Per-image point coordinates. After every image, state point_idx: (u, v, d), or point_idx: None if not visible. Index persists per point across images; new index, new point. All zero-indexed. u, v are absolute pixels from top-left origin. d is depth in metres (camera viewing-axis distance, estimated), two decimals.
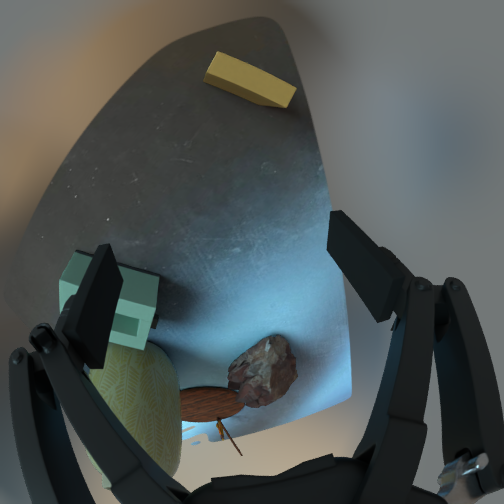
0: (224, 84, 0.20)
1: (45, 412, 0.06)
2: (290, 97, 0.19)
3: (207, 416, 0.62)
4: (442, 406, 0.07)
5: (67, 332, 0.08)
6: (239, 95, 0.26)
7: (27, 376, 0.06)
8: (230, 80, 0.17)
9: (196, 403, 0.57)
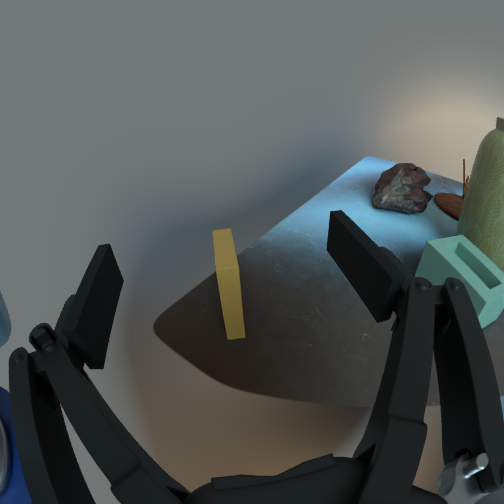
0: None
1: (45, 412, 0.06)
2: (221, 229, 0.29)
3: None
4: (442, 406, 0.07)
5: (67, 332, 0.08)
6: None
7: (27, 376, 0.06)
8: (234, 254, 0.25)
9: None
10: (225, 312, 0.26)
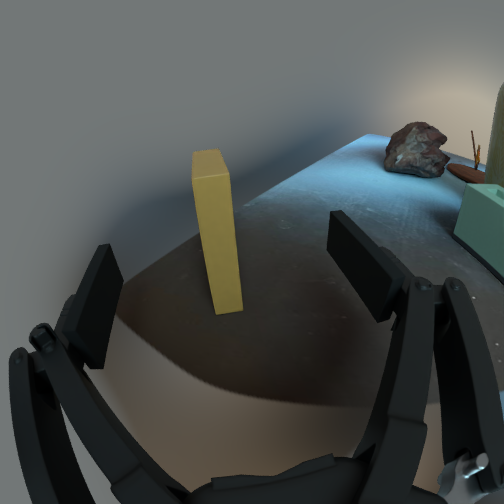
0: None
1: (45, 412, 0.06)
2: (205, 150, 0.19)
3: (483, 174, 0.49)
4: (442, 406, 0.07)
5: (67, 332, 0.08)
6: None
7: (27, 376, 0.06)
8: (223, 164, 0.15)
9: None
10: (209, 263, 0.16)
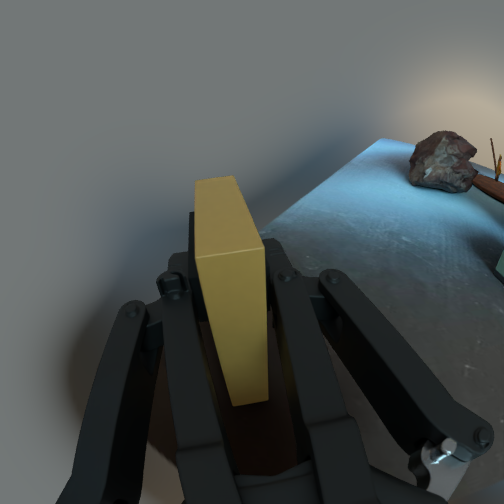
0: None
1: (139, 377, 0.08)
2: (214, 178, 0.13)
3: None
4: (373, 404, 0.08)
5: (195, 278, 0.11)
6: None
7: (136, 335, 0.09)
8: (248, 217, 0.09)
9: None
10: (226, 363, 0.10)
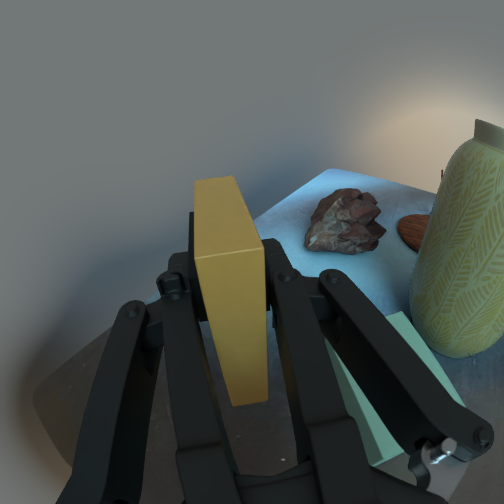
0: None
1: (139, 377, 0.08)
2: (214, 178, 0.13)
3: None
4: (373, 404, 0.08)
5: (195, 279, 0.11)
6: None
7: (136, 335, 0.09)
8: (248, 217, 0.09)
9: None
10: (226, 363, 0.10)
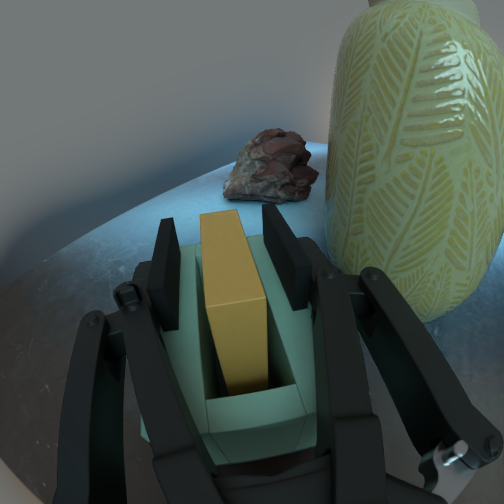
0: None
1: (106, 383, 0.08)
2: (218, 212, 0.14)
3: None
4: (395, 401, 0.08)
5: (153, 290, 0.10)
6: None
7: (98, 343, 0.08)
8: (251, 262, 0.10)
9: None
10: (232, 385, 0.12)
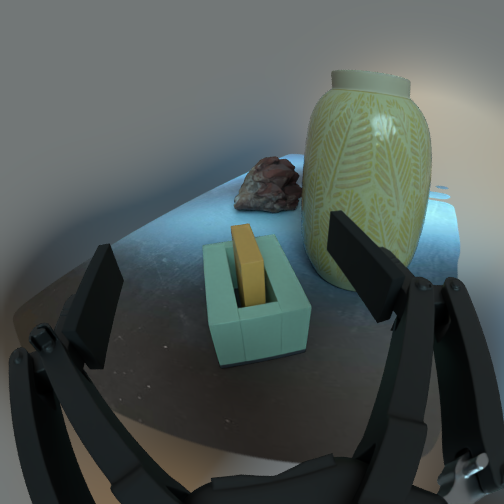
0: None
1: (45, 412, 0.06)
2: (240, 225, 0.29)
3: None
4: (442, 406, 0.07)
5: (67, 332, 0.08)
6: None
7: (27, 376, 0.06)
8: (257, 248, 0.25)
9: None
10: None
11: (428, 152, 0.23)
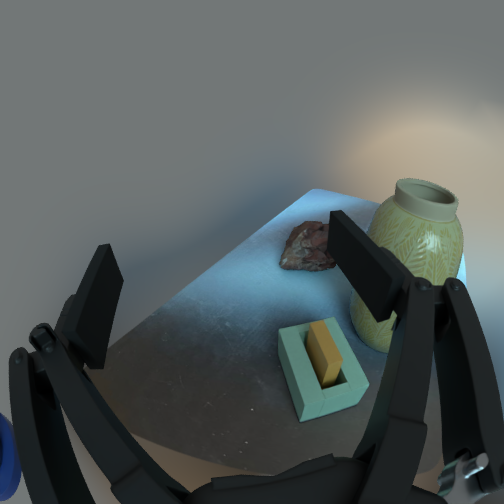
0: None
1: (45, 412, 0.06)
2: (317, 322, 0.35)
3: None
4: (442, 406, 0.07)
5: (67, 332, 0.08)
6: None
7: (27, 376, 0.06)
8: (336, 348, 0.31)
9: None
10: (323, 384, 0.32)
11: (459, 262, 0.29)
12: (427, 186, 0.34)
